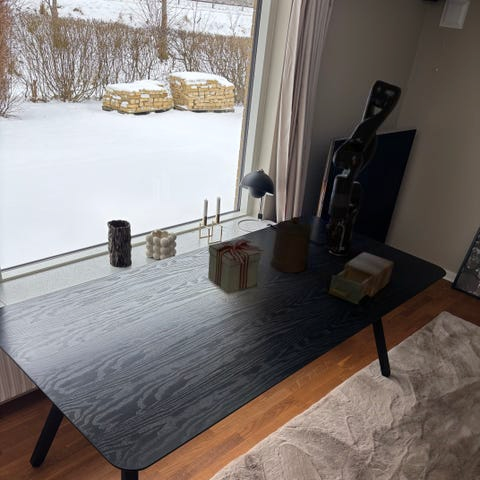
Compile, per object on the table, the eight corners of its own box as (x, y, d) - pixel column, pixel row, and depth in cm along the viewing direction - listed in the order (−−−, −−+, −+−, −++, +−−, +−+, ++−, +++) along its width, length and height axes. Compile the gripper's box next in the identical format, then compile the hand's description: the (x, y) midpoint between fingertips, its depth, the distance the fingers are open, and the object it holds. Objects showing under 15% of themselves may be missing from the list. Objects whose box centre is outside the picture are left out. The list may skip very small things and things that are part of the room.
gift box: (234, 298, 185) (237, 257, 176) (205, 279, 196) (206, 240, 187) (266, 286, 195) (270, 247, 186) (236, 269, 206) (239, 231, 197)
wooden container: (311, 264, 215) (318, 217, 204) (296, 276, 204) (303, 227, 193) (281, 255, 222) (287, 209, 210) (265, 266, 211) (270, 218, 199)
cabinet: (371, 296, 193) (376, 275, 188) (341, 285, 200) (345, 263, 195) (388, 282, 205) (394, 262, 199) (359, 272, 211) (363, 251, 206)
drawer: (350, 310, 181) (354, 292, 177) (321, 298, 187) (324, 280, 183) (375, 290, 196) (379, 273, 191) (347, 280, 202) (350, 263, 198)
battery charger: (321, 249, 197) (326, 222, 191) (326, 246, 199) (331, 220, 193) (335, 254, 193) (341, 227, 187) (340, 252, 195) (346, 225, 189)
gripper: (339, 210, 179) (331, 252, 188) (357, 201, 188) (348, 242, 198) (322, 204, 183) (315, 246, 192) (340, 196, 192) (333, 237, 201)
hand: (332, 244), depth 195 cm, fingers closed on battery charger, 4 cm apart
